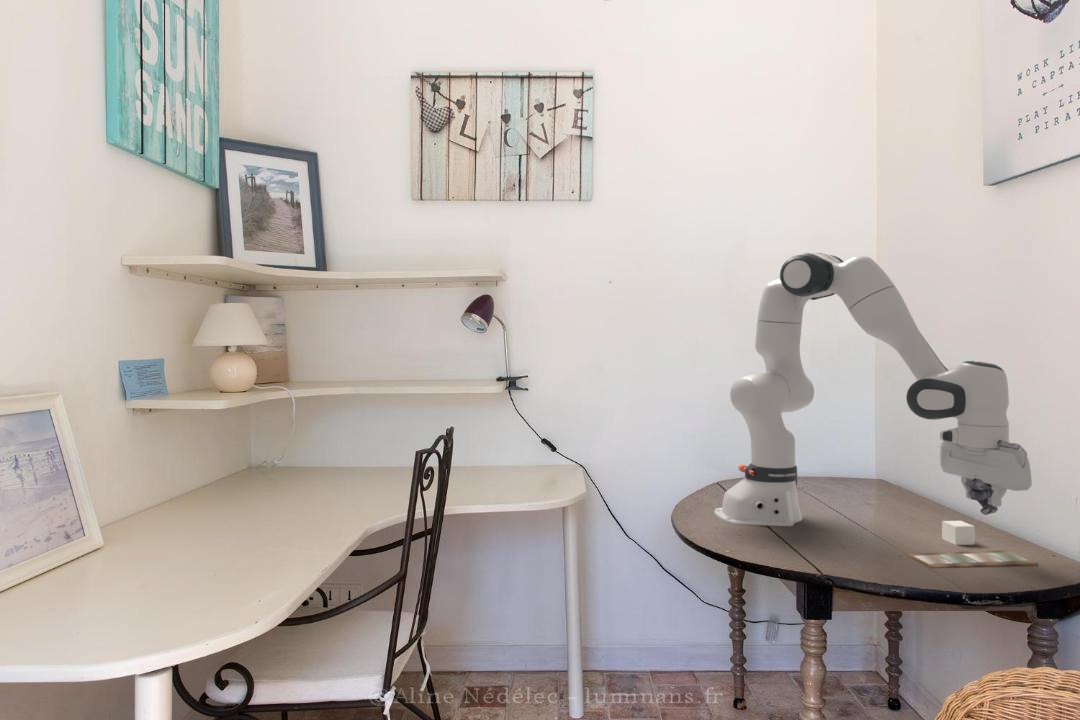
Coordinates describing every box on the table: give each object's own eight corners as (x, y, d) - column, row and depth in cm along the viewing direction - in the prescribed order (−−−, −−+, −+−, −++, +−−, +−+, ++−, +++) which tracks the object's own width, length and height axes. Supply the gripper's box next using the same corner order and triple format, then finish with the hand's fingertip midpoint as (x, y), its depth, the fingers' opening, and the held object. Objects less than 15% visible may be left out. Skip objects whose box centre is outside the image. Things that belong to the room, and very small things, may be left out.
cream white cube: (955, 546, 140) (955, 526, 140) (942, 539, 145) (942, 521, 145) (974, 545, 140) (974, 526, 140) (960, 539, 145) (960, 520, 145)
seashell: (999, 519, 126) (999, 471, 126) (968, 515, 130) (967, 468, 129) (999, 513, 131) (998, 466, 130) (968, 509, 134) (968, 464, 134)
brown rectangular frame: (931, 569, 126) (931, 566, 126) (906, 556, 134) (906, 553, 134) (1038, 565, 127) (1038, 562, 127) (1006, 552, 135) (1006, 550, 135)
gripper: (1040, 444, 120) (1041, 514, 120) (959, 430, 140) (960, 490, 140) (1011, 445, 119) (1011, 516, 120) (934, 431, 140) (934, 491, 140)
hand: (983, 502), depth 130 cm, fingers closed on seashell, 4 cm apart
